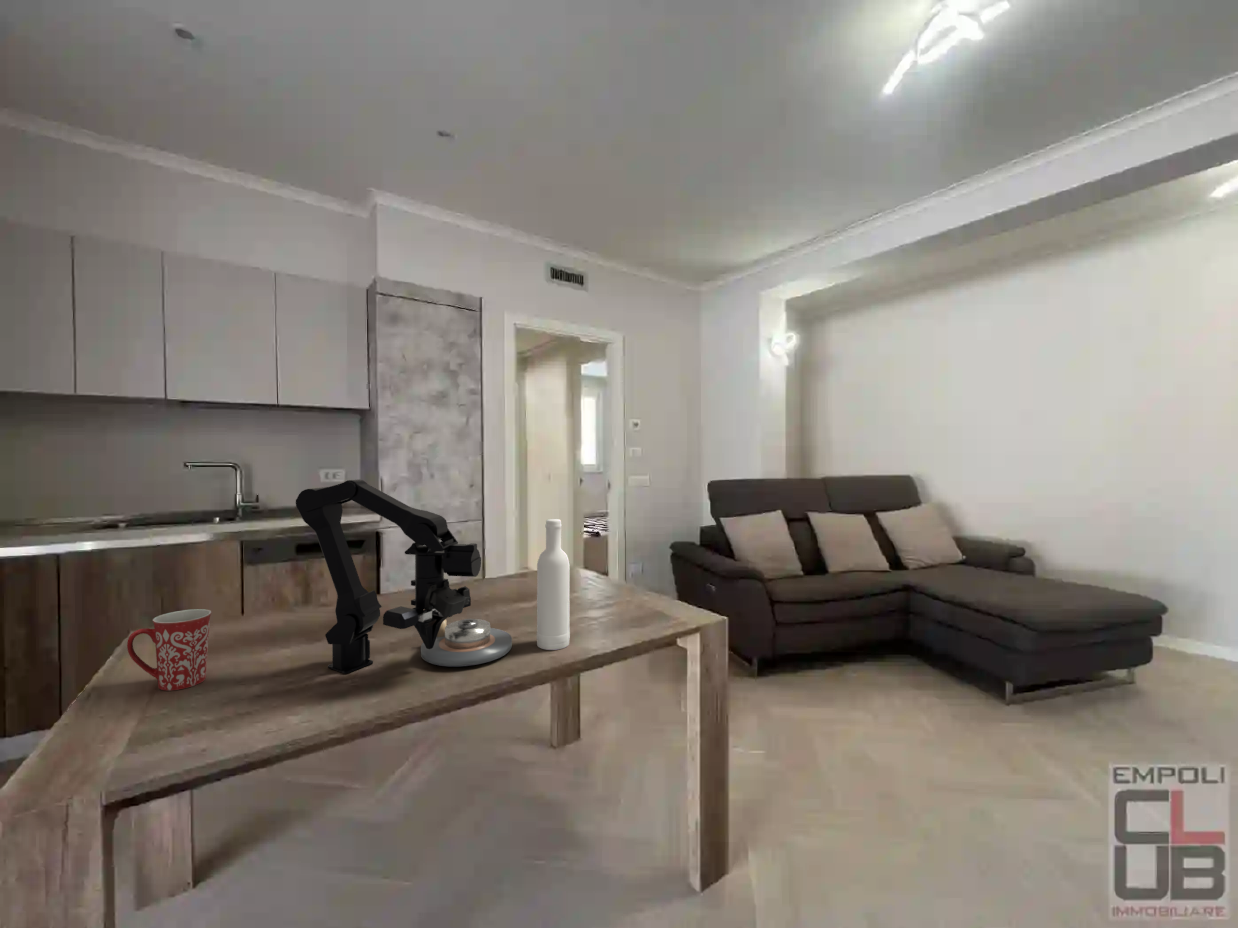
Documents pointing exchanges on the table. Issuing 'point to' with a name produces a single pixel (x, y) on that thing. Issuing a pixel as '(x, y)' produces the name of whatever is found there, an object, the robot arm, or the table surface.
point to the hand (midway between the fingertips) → (429, 648)
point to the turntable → (467, 650)
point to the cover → (467, 634)
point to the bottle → (553, 591)
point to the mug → (177, 648)
